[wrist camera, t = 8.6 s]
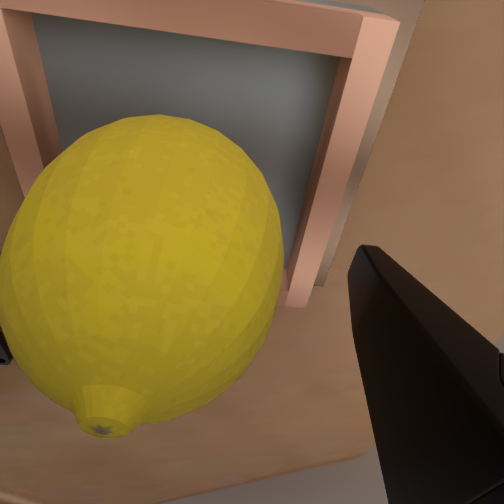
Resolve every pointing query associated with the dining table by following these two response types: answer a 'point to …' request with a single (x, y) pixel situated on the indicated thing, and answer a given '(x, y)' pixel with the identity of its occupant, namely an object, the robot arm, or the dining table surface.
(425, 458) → the robot arm
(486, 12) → the dining table surface
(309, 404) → the dining table surface
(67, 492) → the dining table surface
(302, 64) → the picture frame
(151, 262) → the lemon
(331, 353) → the dining table surface
